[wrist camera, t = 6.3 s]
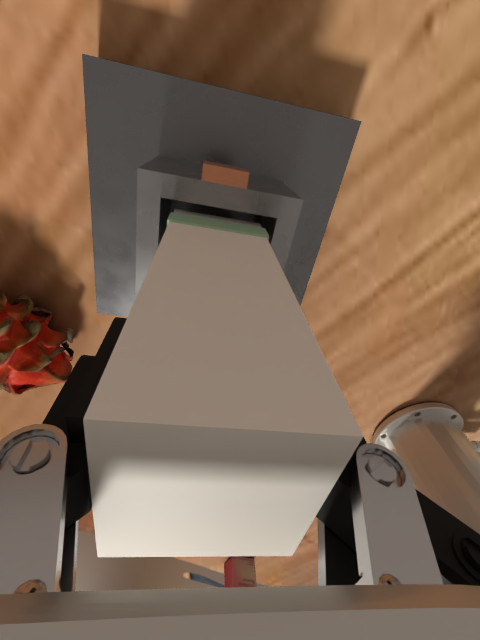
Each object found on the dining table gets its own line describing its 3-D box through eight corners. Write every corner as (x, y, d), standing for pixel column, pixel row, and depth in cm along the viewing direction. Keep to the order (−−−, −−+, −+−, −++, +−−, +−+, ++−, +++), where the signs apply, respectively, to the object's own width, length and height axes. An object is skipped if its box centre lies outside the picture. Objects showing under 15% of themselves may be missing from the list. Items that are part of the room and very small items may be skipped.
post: (262, 222, 19) (370, 433, 6) (244, 298, 21) (294, 557, 9) (173, 206, 18) (76, 414, 5) (167, 288, 20) (93, 558, 8)
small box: (254, 557, 64) (259, 608, 57) (244, 566, 65) (248, 616, 59) (232, 554, 62) (235, 606, 55) (223, 563, 64) (224, 614, 57)
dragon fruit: (-20, 261, 29) (90, 332, 36) (-94, 335, 27) (38, 395, 34) (-24, 266, 22) (111, 352, 29) (-123, 365, 20) (48, 431, 27)
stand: (345, 121, 24) (418, 120, 15) (284, 319, 33) (309, 386, 25) (97, 62, 21) (20, 20, 12) (106, 297, 30) (65, 364, 22)
